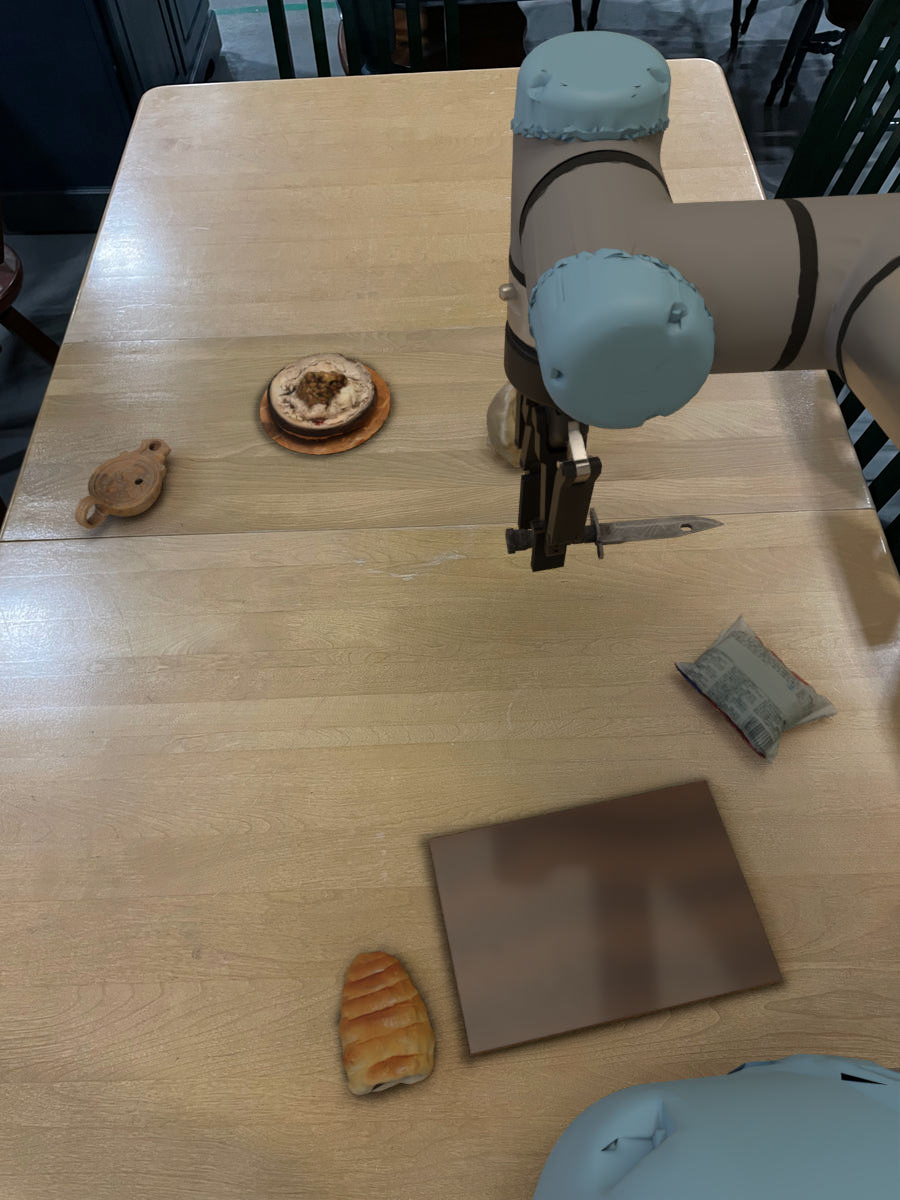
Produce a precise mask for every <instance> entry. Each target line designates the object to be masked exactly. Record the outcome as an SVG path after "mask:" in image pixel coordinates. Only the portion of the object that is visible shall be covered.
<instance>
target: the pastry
mask: <svg viewBox="0 0 900 1200" xmlns="http://www.w3.org/2000/svg"><path fill="white" fill-rule="evenodd" d="M344 974H345V976H344V982H343V983H344V985H343V987H342V990H341V997H340V1021H339V1025H338V1028H337V1034H338V1038H339V1040H340V1042H341V1047H342V1053H343V1054H342V1056H341V1057H342V1065H343V1068H344V1070H345V1072H346V1076H347V1081H348V1082H347V1088H348V1090H349V1091H350V1092H351V1093H352V1094H354V1095H356V1096H362V1095H367V1094H369V1093H376V1092H377V1093H379V1092H382V1091H385V1090H386V1089H388V1088H392V1087H394V1086H396V1085H398V1084H400V1083H402V1084H405V1085H412V1084H415V1083H418V1082H422V1081H424V1080H425V1079H426V1078H428V1076H430V1074H431V1072H432V1071H433V1068H434V1066H435V1065H434V1064H435V1060H434V1059H435V1057H434V1055H435V1054H434V1053H435V1044H436V1036H435V1032H434V1029H433V1027H432V1025H431V1021H430V1018H429V1016H428V1011H427V1007H426V1004H425V1002H424V1000H423V999H422V997H421V995H420V993H419V991H418V989H417V988H416V987H415V986H414V983H413V981H412V979H410V976H409V975H408V973H407V971H406V970H405V969H404V967H403V965H402V963H401V961H400V960H399V959H398V958H396V957H395V956H393V955H391V954H389V953H386V952H385V951H381V950H378V951H377V950H376V951H370V952H361V953H359V954H357V955H356V956H355V957H354V959H353V960H352V961H351V963H350V964H349V966H348V968H347V969H346V971H345V973H344Z"/></svg>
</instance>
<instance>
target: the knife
mask: <svg viewBox="0 0 900 1200" xmlns="http://www.w3.org/2000/svg"><path fill="white" fill-rule="evenodd" d="M588 515H589V521H590V524H586V525H585V529H584V534H583V538H582V540H579V541H574V542H569V543H568V544H567V546H571V545H583V544H594V545H595V547H596V556H597V558H598V560H604V557H605V556H604V555H605V551H604V550H605V549H604V546H610V545H622V544H625V543H629V542H630V543H631V542H643V541H655V540H665V539H676V538H680V537H684V536H687V535H692V534H695V533H700V532H703V531H707V530H711V529H714V528H718V527H723V526H725V523H724V522H722V521H720V520H717V519H715V518H711V517H706V516H698V515H691V514H690V515H679V516H666V517H656V518H644V519H632V520H631V519H630V520H619V521H610V522H599V517H598V516H597V513H596V510H595V508H594V507H589V512H588ZM682 528H683V529H682ZM684 528H689V530H684ZM504 533H505V535H504V536H505V544H506V550H507V554H508V555H514V554H516V553H517V552H522V551H523V552H525V551H527V550H528V549H532V544H533V532H532V529H530V530H526V529H519V528H514V527H508V528H505V532H504Z"/></svg>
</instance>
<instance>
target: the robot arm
mask: <svg viewBox="0 0 900 1200" xmlns="http://www.w3.org/2000/svg"><path fill="white" fill-rule="evenodd" d="M515 87H516V88H515V89H516V91H515V100H514V110H513V111H514V112H513V118H512V119H511V120H510V130H511V131H512V155H511V156H512V157H511V161H512V162H511V187H510V235H509V236H510V238H509V239H510V240H509V247H508V248H509V249H508V282H507V283H503V284H500V285H499V287H498V298H499V299H500V300H501V301H503V302H506V321H505V326H504V343H503V344H504V347H503V349H504V350H503V368H504V373H505V376H506V378H507V380H508V381H509V382H510V383H511V384H512V386H513V387H514V388H515V389H516V390H517V393H516V417H515V439H514V444H515V446H516V448H517V450H519V449H521V455H520V459H519V465H520V467H519V468H520V469H521V471H522V472H524V474H521V475H520V485H519V486H520V487H519V489H520V490H519V499H518V513H517V514H518V515H517V527H518V529H526V530H532V532H533V544H532V548H531V555H530V568H531V572H532V573H538V572H543V571H550V570H554V569H560V568H564V567H565V563H566V556H567V548H568V545H567V544H568V543H569V542H574V541H579V540H582V538H583V534H584V529H585V525H587V520H588V515H589V512H590V508H591V507H590V506H591V502H592V497H593V494H594V493H593V492H594V488H595V484H596V481H597V480H598V479H599V477H600V476H601V474H602V469H603V463H602V460H601V458H600V457H599V456H597V455H596V456H593V454H587V447H588V435H589V432H590V426H591V427H593V428H598V429H605V430H628V429H636V428H639V427H643V425H644V424H645V423H646V422H647V421H649V420H652V419H654V418H656V417H659V416H660V417H662V418H663V417H664V418H667V417H669V416H672V415H673V414H675V413H677V412H679V410H681V409H683V408H684V407H685V406H686V405H687V404H689V402H690V401H691V400H692V399H693V398H694V397H696V395H698V393H699V392H700V390H701V389H702V387H703V386H704V384H705V383H706V382H707V379H708V377H709V375H724V374H725V375H726V374H747V373H749V374H750V373H751V374H752V373H766V372H791V371H792V372H793V371H796V372H797V371H824V370H828V371H832V372H835V373H836V375H837V376H838V378H840V379H841V381H842V382H843V383H844V384H845V386H846V387H847V389H848V390H849V391H850V392H851V394H852V395H853V396H855V397H856V398H857V400H859V402H860V403H861V404H862V405H863V407H864V408H865V409H866V410H867V412H868V413H869V414H870V416H871V417H872V418H873V420H874V421H875V422H876V423H877V425H878V426H879V428H881V430H882V431H883V432H884V433H885V435H886V436H887V438H888V439H889V440H890V442H891V443H892V444H893V446H894V447H895V448H896V449H897V451H898V452H899V453H900V192H886V193H869V194H868V193H867V194H850V195H849V194H847V195H832V196H831V195H829V196H815V197H814V196H813V197H797V198H796V197H793V198H774V199H749V200H747V199H745V200H719V201H716V200H715V201H694V202H691V201H690V202H674V201H673V198H672V196H671V191H670V190H669V186H668V184H667V181H666V177H665V174H664V170H663V167H662V163H661V151H662V144H663V139H664V135H665V131H666V130H667V129H668V128H669V125H670V122H671V121H670V117H669V106H670V98H671V97H670V96H671V87H672V75H671V68H670V66H669V64H668V61H667V59H666V58H665V57H664V55H662V53H661V52H660V51H659V50H658V49H657V48H655V47H654V46H653V45H651V44H650V43H648V42H646V41H644V40H642V39H640V38H638V37H634V36H633V35H630V34H625V33H620V32H614V31H608V30H587V31H586V30H585V31H573V32H568V33H564V34H561V35H560V34H559V35H557V36H554V37H552V38H549V39H547V40H544V42H541V43H540V44H538V45H537V46H536V47H534V48H533V49H532V50H531V51H530V52H529V53H528V54H527V56H526V57H525V58H524V59H523V60H522V63H521V65H520V67H519V69H518V72H517V78H516V86H515ZM541 1170H542V1171H541V1172H540V1176H539V1178H538V1180H537V1184H536V1188H535V1191H534V1193H533V1197H532V1200H900V1067H884V1066H882V1065H881V1064H879V1063H877V1062H876V1061H873V1060H869V1059H863V1058H855V1057H848V1056H842V1055H834V1054H814V1053H812V1054H811V1053H796V1054H792V1055H789V1056H784V1057H781V1058H777V1059H773V1060H757V1061H756V1060H754V1061H748V1062H744V1063H742V1064H740V1065H739V1066H737V1067H735V1068H734V1069H733V1070H731V1071H729V1072H728V1073H726V1074H719V1075H718V1074H717V1075H710V1076H701V1077H692V1078H682V1079H674V1080H664V1081H655V1082H646V1083H639V1084H634V1085H631V1086H627V1087H624V1088H621V1089H618V1090H616V1091H614V1092H611V1093H609V1094H607V1095H605V1096H603V1097H600V1098H599V1099H598V1100H596V1101H594V1102H593V1103H591V1104H589V1105H588V1106H586V1108H585V1109H583V1111H581V1112H580V1113H579V1114H578V1115H577V1116H576V1117H575V1118H574V1119H573V1120H572V1121H571V1122H570V1123H569V1124H568V1125H567V1127H566V1128H565V1130H563V1132H562V1133H561V1135H560V1136H559V1137H558V1138H557V1141H555V1143H554V1145H553V1147H552V1148H551V1151H550V1153H549V1154H548V1157H547V1158H546V1161H545V1163H544V1165H543V1167H542V1169H541Z"/></svg>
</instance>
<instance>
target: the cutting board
mask: <svg viewBox="0 0 900 1200" xmlns="http://www.w3.org/2000/svg"><path fill="white" fill-rule="evenodd" d="M427 841H428V846H429V851H430V856H431V857H430V858H431V861H432V866H433V871H434V876H435V882H436V887H437V891H438V898H439V903H440V908H441V914H442V918H443V922H444V923H443V924H444V927H445V928H444V929H445V932H446V933H445V934H446V938H447V944H448V948H449V954H450V958H451V964H452V970H453V974H454V979H455V984H456V990H457V995H458V1000H459V1005H460V1009H461V1015H462V1020H463V1025H464V1031H465V1035H466V1041H467V1045H468V1051H469V1056H470V1057H472V1056H473V1057H474V1056H477V1055H481V1054H486V1053H489V1052H494V1051H498V1050H502V1049H506V1048H511V1047H514V1046H519V1045H524V1044H528V1043H532V1042H537V1041H540V1040H544V1039H549V1038H552V1037H557V1036H561V1035H566V1034H569V1033H573V1032H577V1031H582V1030H587V1029H591V1028H595V1027H598V1026H603V1025H607V1024H612V1023H615V1022H619V1021H624V1020H628V1019H632V1018H636V1017H641V1016H645V1015H650V1014H653V1013H659V1012H662V1011H665V1010H670V1009H674V1008H678V1007H683V1006H686V1005H690V1004H694V1003H699V1002H703V1001H707V1000H711V999H716V998H720V997H723V996H728V995H733V994H737V993H741V992H745V991H749V990H753V989H758V988H762V987H766V986H771V985H774V984H778V983H781V982H783V981H784V978H783V975H782V973H781V970H780V967H779V965H778V962H777V960H776V958H775V954H774V952H773V949H772V946H771V944H770V942H769V939H768V937H767V933H766V931H765V928H764V926H763V924H762V920H761V918H760V915H759V913H758V910H757V908H756V905H755V902H754V900H753V897H752V895H751V893H750V889H749V887H748V885H747V882H746V880H745V879H746V878H745V877H744V875H743V872H742V869H741V866H740V865H739V861H738V859H737V856H736V854H735V853H736V852H735V851H734V849H733V846H732V844H731V843H732V842H731V841H730V838H729V835H728V833H727V830H726V828H725V825H724V822H723V819H722V817H721V815H720V812H719V809H718V807H717V804H716V802H715V799H714V796H713V794H712V792H711V789H710V786H709V783H708V781H707V779H703V780H699V781H694V782H690V783H684V784H681V785H676V786H671V787H666V788H662V789H657V790H652V791H647V792H644V793H639V794H634V795H628V796H624V797H619V798H615V799H609V800H605V801H601V802H596V803H591V804H587V805H582V806H577V807H573V808H568V809H563V810H558V811H554V812H549V813H544V814H539V815H536V816H531V817H526V818H522V819H516V820H512V821H507V822H503V823H498V824H493V825H488V826H483V827H479V828H475V829H474V828H473V829H470V830H465V831H461V832H457V833H456V832H455V833H451V834H447V835H443V836H438V837H433V838H428V840H427Z"/></svg>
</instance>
